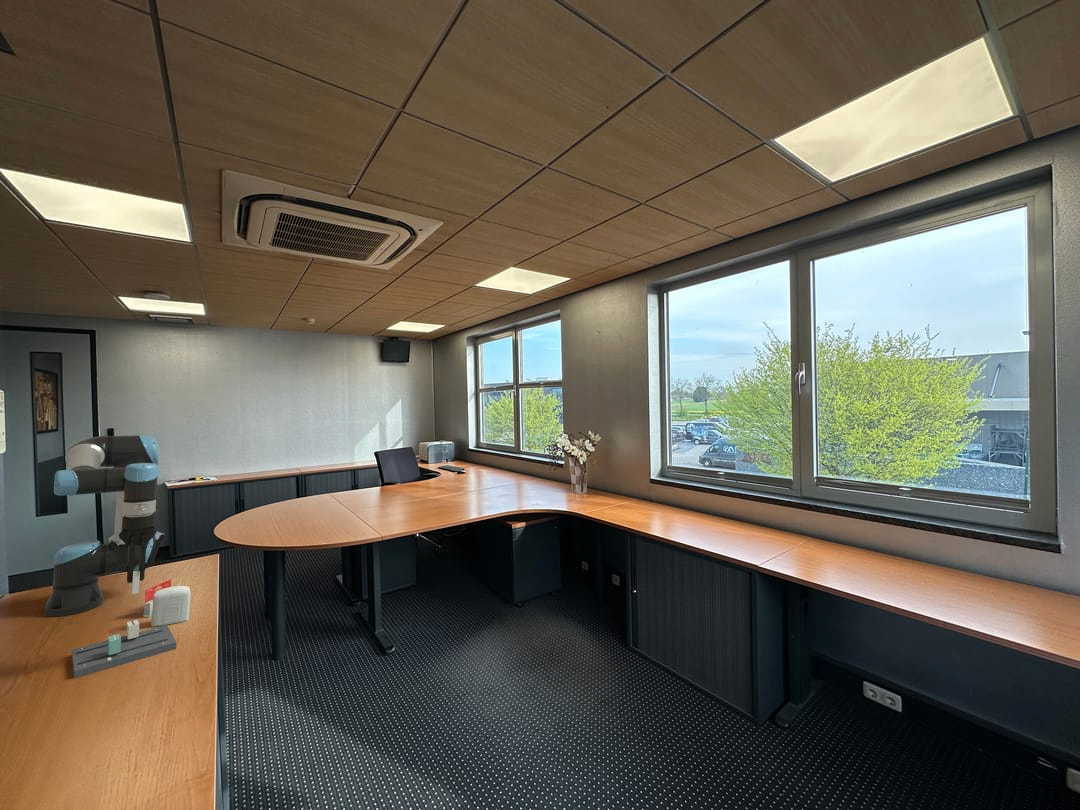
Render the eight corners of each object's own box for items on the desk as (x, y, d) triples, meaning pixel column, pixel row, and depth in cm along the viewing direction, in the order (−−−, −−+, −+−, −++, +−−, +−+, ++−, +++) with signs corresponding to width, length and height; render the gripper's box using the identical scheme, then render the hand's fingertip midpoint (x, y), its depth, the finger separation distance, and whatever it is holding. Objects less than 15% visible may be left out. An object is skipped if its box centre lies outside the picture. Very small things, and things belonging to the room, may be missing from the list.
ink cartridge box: (175, 604, 168) (177, 579, 168) (149, 618, 157) (151, 590, 157) (169, 604, 168) (170, 578, 168) (142, 617, 157) (144, 590, 157)
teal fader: (107, 652, 130) (108, 636, 131) (118, 648, 132) (119, 633, 132) (108, 657, 128) (109, 641, 128) (120, 653, 130) (121, 638, 130)
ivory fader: (126, 636, 139) (126, 621, 139) (136, 633, 141) (137, 619, 141) (127, 641, 137) (128, 626, 137) (138, 638, 139) (139, 623, 139)
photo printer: (189, 616, 159) (191, 582, 159) (188, 621, 155) (190, 586, 156) (152, 623, 153) (154, 587, 153) (150, 628, 150) (152, 592, 150)
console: (71, 656, 132) (72, 648, 132) (166, 630, 148) (167, 624, 148) (74, 678, 121) (74, 670, 121) (176, 648, 138) (176, 641, 138)
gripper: (110, 520, 127) (105, 602, 126) (169, 513, 136) (164, 589, 136) (108, 515, 132) (103, 594, 131) (164, 509, 141) (160, 583, 141)
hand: (134, 592), depth 133 cm, fingers closed
